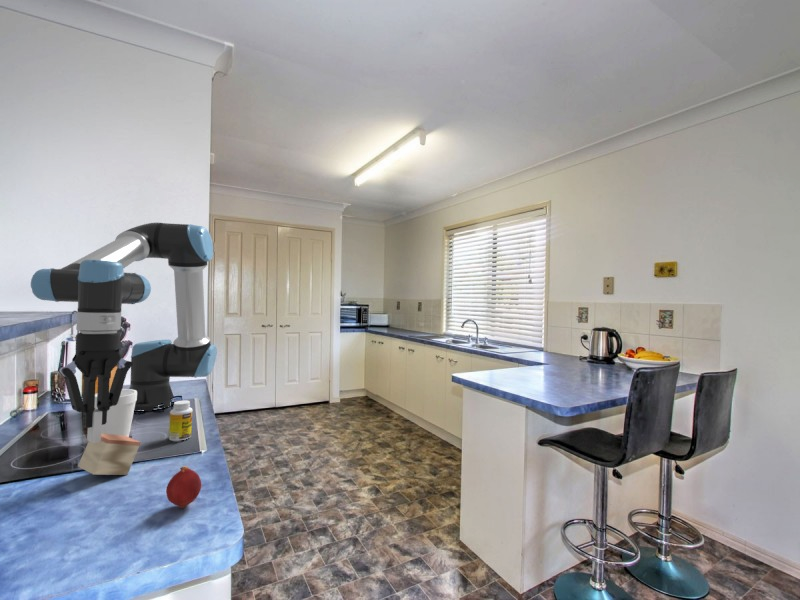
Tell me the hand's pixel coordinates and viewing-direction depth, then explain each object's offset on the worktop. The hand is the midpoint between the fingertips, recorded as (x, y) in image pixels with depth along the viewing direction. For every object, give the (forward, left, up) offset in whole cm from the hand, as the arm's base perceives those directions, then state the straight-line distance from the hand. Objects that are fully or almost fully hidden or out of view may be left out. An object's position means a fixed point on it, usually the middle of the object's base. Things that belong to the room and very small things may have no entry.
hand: (94, 441), depth 82 cm
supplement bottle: (-24, -8, -9) cm, 27 cm away
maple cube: (-2, 0, -7) cm, 7 cm away
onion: (-5, +26, -9) cm, 28 cm away
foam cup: (-13, -20, -9) cm, 25 cm away
